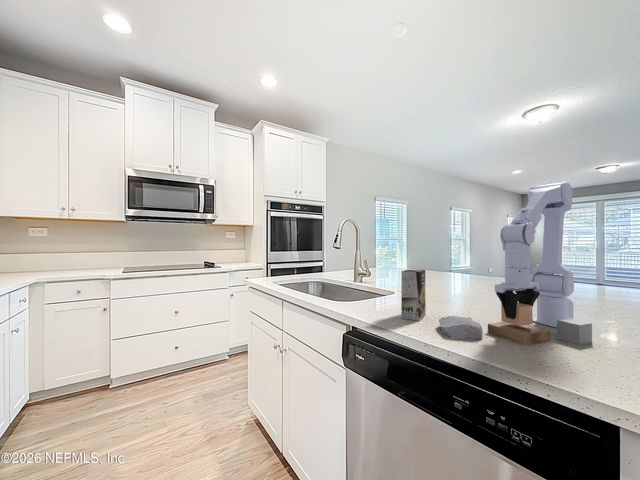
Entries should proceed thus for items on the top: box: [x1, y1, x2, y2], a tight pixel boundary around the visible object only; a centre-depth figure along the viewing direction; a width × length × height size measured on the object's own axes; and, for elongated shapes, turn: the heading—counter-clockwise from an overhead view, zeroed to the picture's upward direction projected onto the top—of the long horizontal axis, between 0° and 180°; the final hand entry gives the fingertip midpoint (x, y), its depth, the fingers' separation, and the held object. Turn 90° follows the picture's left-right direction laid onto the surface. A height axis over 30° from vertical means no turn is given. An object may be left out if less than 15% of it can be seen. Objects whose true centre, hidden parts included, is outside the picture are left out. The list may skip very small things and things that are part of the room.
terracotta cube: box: [500, 302, 534, 326], centre depth 76 cm, size 5×5×5 cm
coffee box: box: [400, 269, 427, 322], centre depth 96 cm, size 9×6×16 cm
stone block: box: [438, 315, 483, 340], centre depth 80 cm, size 12×5×10 cm
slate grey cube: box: [556, 318, 593, 345], centre depth 73 cm, size 5×5×5 cm
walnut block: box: [487, 321, 551, 346], centre depth 76 cm, size 10×10×3 cm
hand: (517, 317), depth 76 cm, fingers closed on terracotta cube, 5 cm apart
